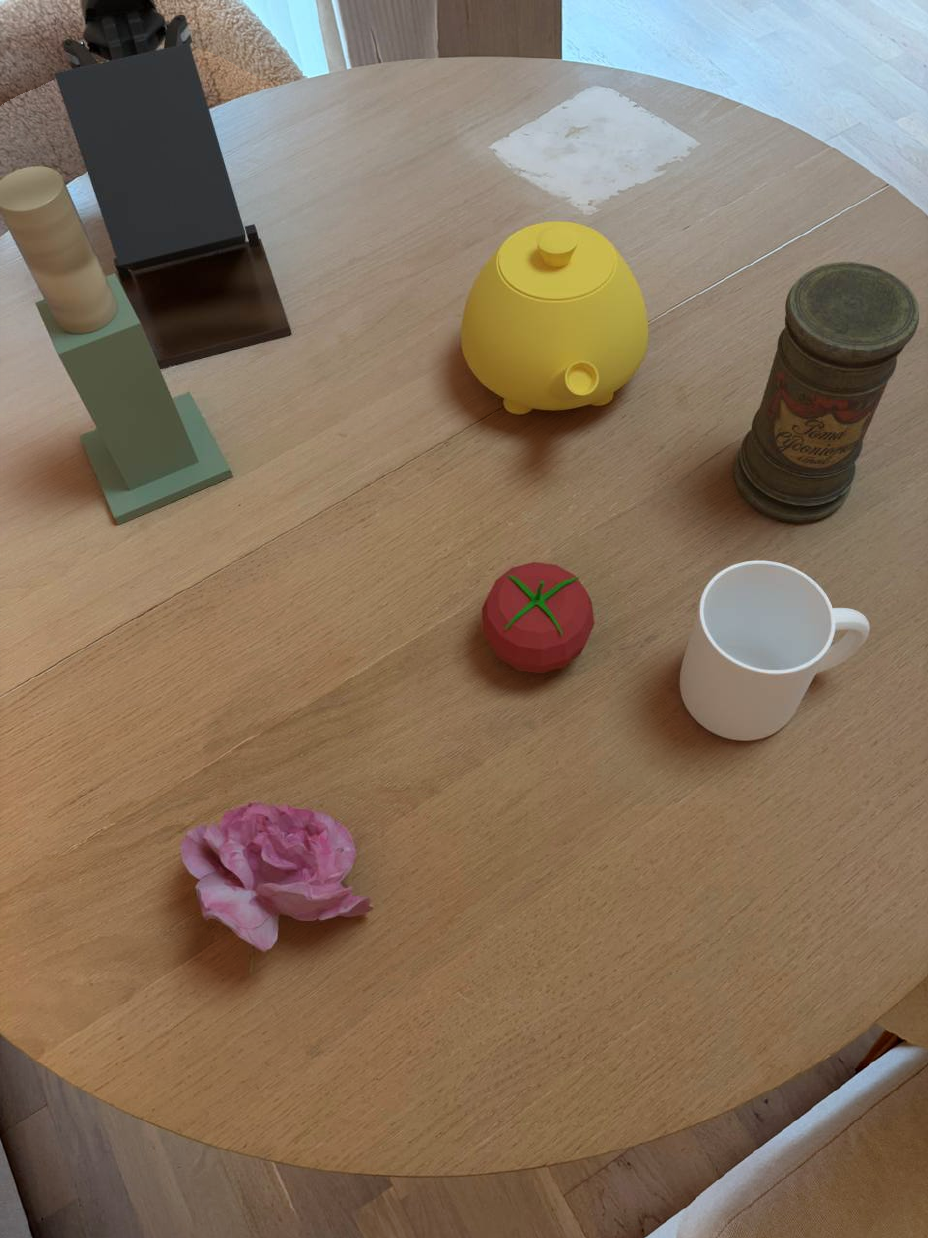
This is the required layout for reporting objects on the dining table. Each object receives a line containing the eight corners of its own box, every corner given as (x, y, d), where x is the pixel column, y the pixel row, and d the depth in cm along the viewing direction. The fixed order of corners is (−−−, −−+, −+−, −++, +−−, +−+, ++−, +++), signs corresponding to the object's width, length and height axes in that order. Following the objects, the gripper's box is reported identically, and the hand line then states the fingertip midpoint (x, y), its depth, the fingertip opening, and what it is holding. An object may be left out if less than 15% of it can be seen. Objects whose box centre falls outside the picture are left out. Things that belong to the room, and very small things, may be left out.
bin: (245, 234, 87) (189, 42, 82) (119, 266, 86) (54, 72, 81) (245, 242, 97) (195, 72, 92) (132, 270, 96) (75, 99, 91)
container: (727, 437, 83) (774, 257, 68) (838, 436, 83) (910, 254, 67) (739, 525, 79) (792, 353, 63) (857, 524, 78) (939, 351, 63)
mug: (825, 624, 74) (866, 541, 65) (866, 725, 69) (916, 652, 61) (664, 649, 73) (683, 570, 65) (695, 753, 69) (720, 683, 60)
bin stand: (291, 334, 92) (286, 312, 90) (140, 374, 91) (130, 352, 88) (262, 245, 99) (256, 222, 97) (120, 281, 97) (111, 258, 95)
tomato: (611, 660, 73) (620, 604, 67) (517, 708, 72) (516, 655, 65) (554, 580, 77) (557, 519, 70) (464, 623, 75) (459, 565, 69)
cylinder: (48, 304, 72) (-16, 180, 64) (107, 282, 73) (52, 157, 64) (65, 342, 70) (1, 219, 61) (126, 319, 71) (71, 194, 62)
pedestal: (83, 443, 87) (0, 295, 73) (192, 399, 89) (132, 247, 75) (118, 525, 82) (37, 383, 68) (233, 476, 84) (176, 329, 70)
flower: (284, 821, 71) (345, 744, 65) (344, 950, 67) (415, 881, 61) (131, 861, 64) (184, 778, 58) (188, 1009, 60) (251, 937, 54)
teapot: (669, 467, 82) (694, 339, 70) (479, 488, 82) (471, 364, 70) (624, 298, 92) (639, 162, 81) (455, 317, 92) (445, 183, 80)
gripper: (188, 27, 111) (229, 150, 99) (70, 53, 110) (97, 181, 98) (168, -47, 105) (209, 75, 93) (42, -20, 103) (67, 108, 91)
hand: (152, 129), depth 95 cm, fingers closed
